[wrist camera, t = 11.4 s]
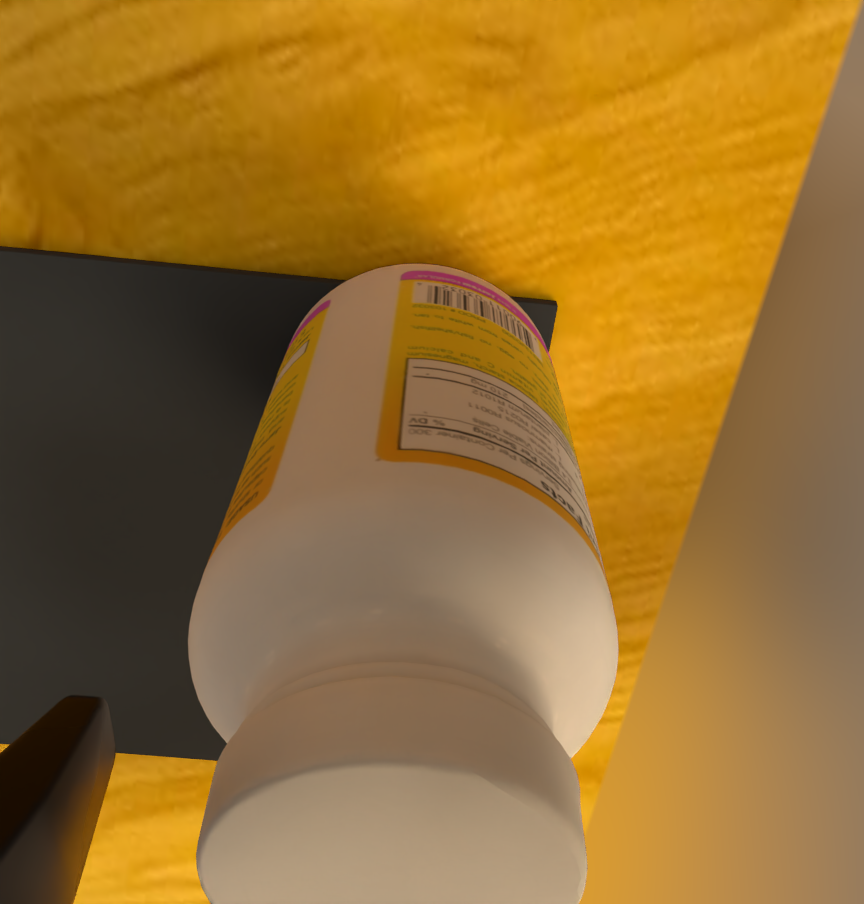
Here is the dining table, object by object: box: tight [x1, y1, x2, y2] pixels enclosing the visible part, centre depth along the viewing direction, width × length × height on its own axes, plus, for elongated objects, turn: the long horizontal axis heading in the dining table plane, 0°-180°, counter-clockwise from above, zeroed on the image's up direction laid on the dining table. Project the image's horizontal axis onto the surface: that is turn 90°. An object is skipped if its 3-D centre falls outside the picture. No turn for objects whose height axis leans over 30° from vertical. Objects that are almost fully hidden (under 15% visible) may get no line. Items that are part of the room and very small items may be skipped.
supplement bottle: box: [188, 264, 618, 904], centre depth 15 cm, size 7×7×13 cm
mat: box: [0, 246, 557, 761], centre depth 24 cm, size 18×18×1 cm
